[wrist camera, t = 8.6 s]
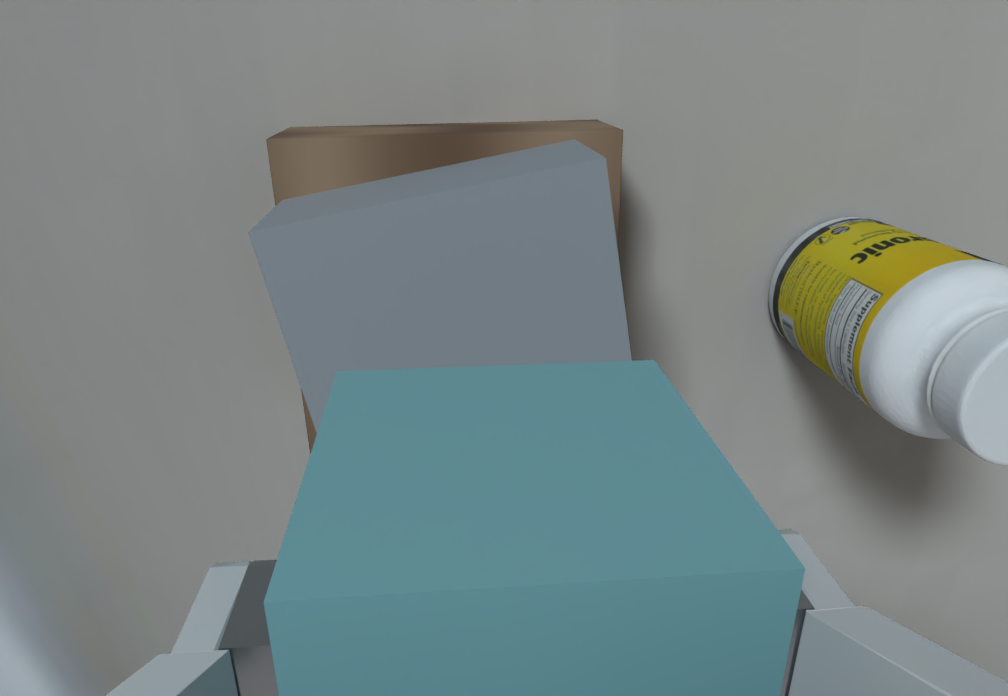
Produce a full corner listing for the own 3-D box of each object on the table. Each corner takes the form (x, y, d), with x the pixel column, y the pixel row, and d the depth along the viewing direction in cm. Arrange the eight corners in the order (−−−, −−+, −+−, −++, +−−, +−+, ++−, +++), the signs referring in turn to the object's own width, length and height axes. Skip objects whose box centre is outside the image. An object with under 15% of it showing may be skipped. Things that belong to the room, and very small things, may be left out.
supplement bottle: (925, 224, 26) (1187, 313, 17) (871, 358, 28) (1081, 502, 19) (790, 201, 25) (990, 282, 16) (745, 341, 27) (901, 482, 18)
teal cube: (361, 623, 13) (319, 942, 8) (336, 371, 11) (262, 602, 6) (632, 605, 13) (738, 900, 9) (654, 359, 11) (805, 568, 7)
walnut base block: (326, 399, 27) (310, 453, 23) (292, 126, 23) (266, 139, 19) (585, 385, 28) (608, 435, 24) (593, 118, 24) (623, 129, 20)
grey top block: (361, 452, 23) (347, 525, 20) (282, 199, 20) (248, 232, 16) (611, 398, 23) (644, 462, 20) (574, 139, 20) (605, 157, 16)
